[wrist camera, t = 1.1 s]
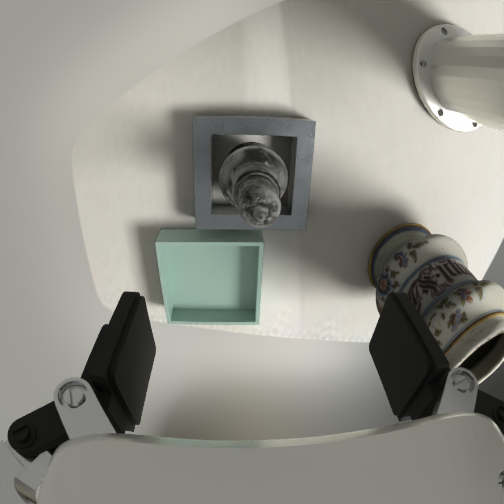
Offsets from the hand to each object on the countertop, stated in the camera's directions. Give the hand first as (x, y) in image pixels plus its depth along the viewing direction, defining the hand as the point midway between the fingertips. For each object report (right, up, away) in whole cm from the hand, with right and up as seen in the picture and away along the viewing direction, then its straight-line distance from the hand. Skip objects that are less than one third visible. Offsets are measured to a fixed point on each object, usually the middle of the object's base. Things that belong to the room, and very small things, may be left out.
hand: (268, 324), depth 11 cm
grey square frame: (-1, +11, +17) cm, 20 cm away
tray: (-5, +1, +23) cm, 23 cm away
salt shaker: (-1, +11, +18) cm, 21 cm away
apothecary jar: (+18, +2, +24) cm, 30 cm away
